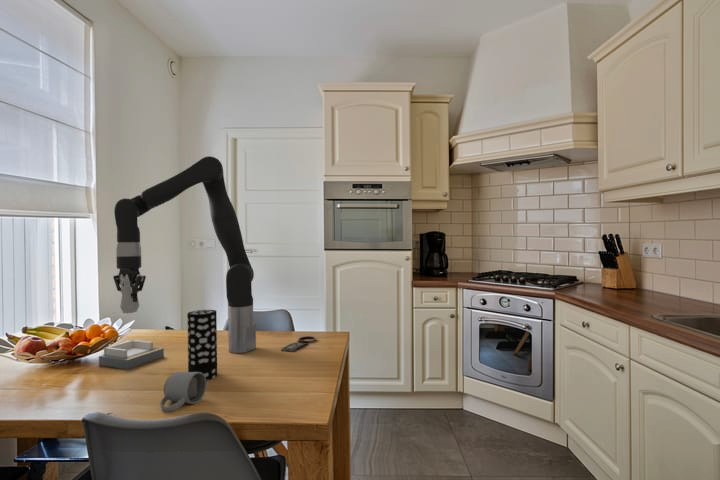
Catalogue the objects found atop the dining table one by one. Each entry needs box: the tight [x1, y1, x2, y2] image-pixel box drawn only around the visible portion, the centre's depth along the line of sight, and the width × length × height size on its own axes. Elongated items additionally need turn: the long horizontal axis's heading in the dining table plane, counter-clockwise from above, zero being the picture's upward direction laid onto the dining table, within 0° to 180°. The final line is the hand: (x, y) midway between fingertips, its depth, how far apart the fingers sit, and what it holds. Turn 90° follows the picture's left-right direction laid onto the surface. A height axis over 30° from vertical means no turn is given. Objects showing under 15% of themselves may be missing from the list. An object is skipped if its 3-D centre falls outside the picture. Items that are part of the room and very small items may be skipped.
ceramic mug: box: [159, 371, 207, 413], centre depth 96 cm, size 11×8×8 cm
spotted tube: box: [187, 309, 218, 381], centre depth 115 cm, size 8×8×20 cm
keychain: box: [280, 335, 317, 353], centre depth 149 cm, size 8×19×2 cm, turn 158°
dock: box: [98, 339, 165, 370], centre depth 132 cm, size 14×14×6 cm
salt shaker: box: [120, 276, 140, 314], centre depth 132 cm, size 6×6×13 cm
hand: (129, 303), depth 132 cm, fingers closed on salt shaker, 3 cm apart
